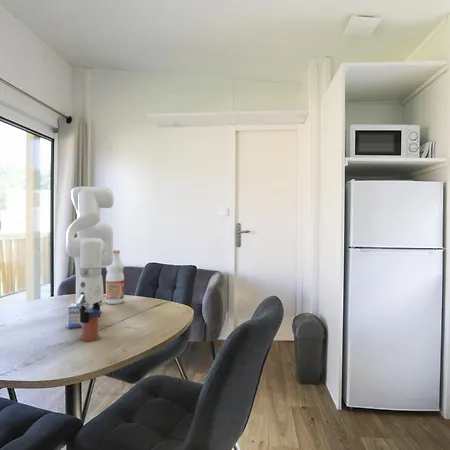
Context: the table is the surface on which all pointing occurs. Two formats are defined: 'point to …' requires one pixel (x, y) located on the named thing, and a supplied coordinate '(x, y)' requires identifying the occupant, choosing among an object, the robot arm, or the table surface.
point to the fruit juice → (115, 280)
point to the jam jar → (91, 329)
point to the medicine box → (73, 316)
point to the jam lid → (93, 312)
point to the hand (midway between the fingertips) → (90, 319)
